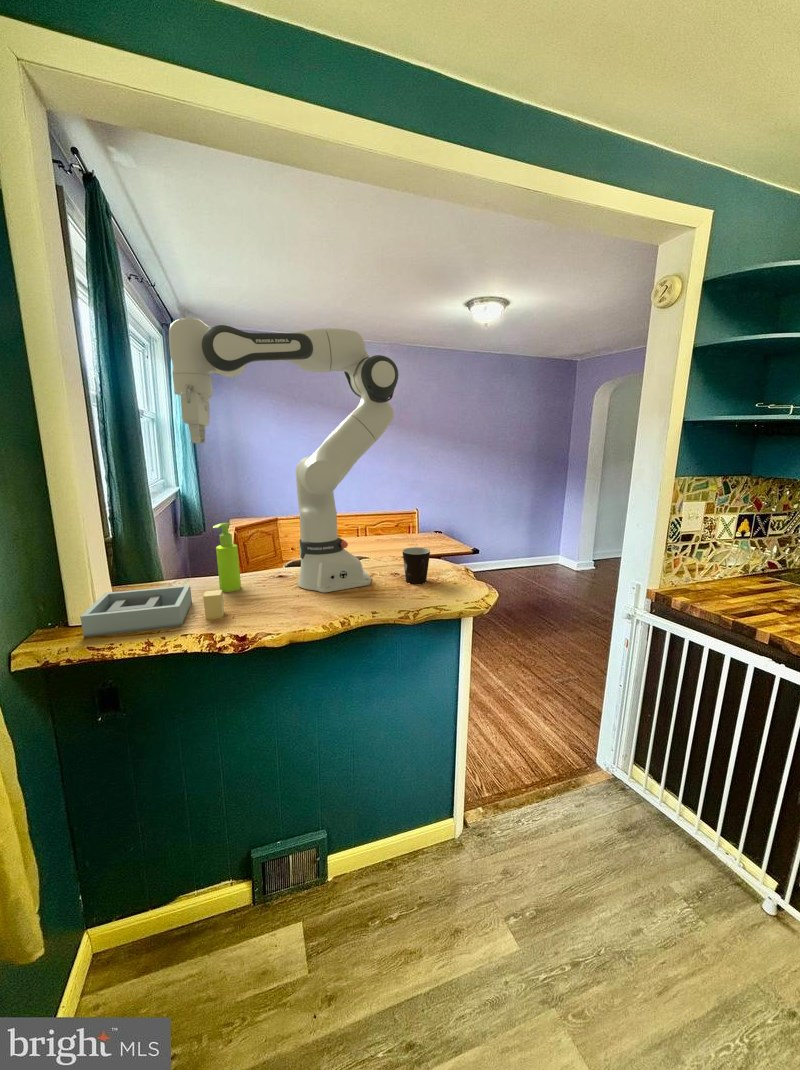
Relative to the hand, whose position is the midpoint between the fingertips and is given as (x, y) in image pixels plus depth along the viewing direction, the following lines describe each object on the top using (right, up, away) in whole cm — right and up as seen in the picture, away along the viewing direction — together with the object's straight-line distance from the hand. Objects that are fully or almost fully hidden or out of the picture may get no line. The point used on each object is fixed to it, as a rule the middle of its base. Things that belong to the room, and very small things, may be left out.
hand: (199, 443), depth 111 cm
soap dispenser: (+2, -41, +16) cm, 44 cm away
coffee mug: (+58, -39, +21) cm, 73 cm away
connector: (+6, -45, -4) cm, 45 cm away
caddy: (-12, -45, -5) cm, 47 cm away
